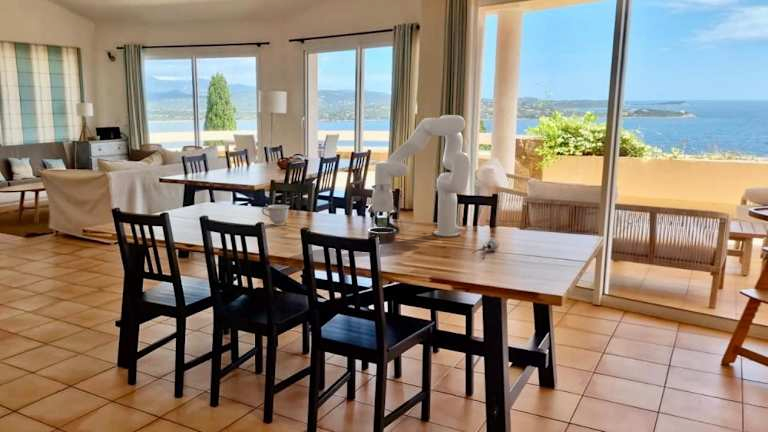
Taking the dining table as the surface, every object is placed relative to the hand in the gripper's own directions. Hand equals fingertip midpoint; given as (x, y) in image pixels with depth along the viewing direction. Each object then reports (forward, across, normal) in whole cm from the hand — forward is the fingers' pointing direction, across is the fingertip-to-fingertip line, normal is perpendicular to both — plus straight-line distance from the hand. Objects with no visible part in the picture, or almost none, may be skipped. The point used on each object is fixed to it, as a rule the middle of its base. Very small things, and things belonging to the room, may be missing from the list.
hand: (381, 225), depth 279 cm
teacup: (+8, -55, +40) cm, 68 cm away
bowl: (+7, 0, 0) cm, 7 cm away
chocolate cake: (+8, +5, +20) cm, 22 cm away
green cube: (0, 0, 0) cm, 0 cm away
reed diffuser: (+8, +44, -29) cm, 53 cm away
